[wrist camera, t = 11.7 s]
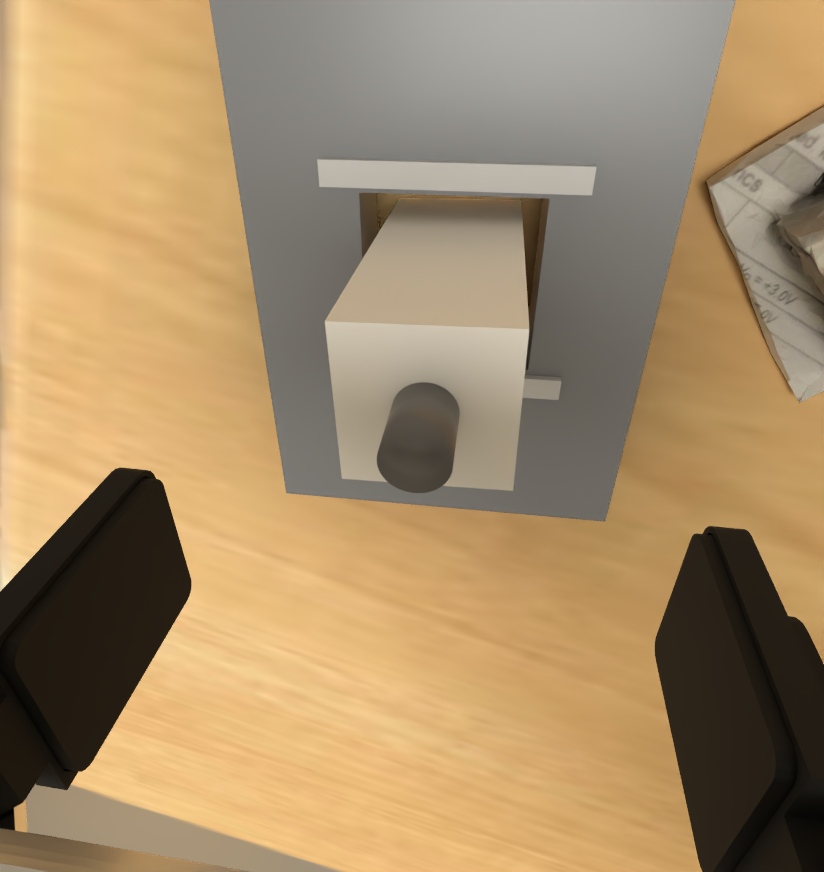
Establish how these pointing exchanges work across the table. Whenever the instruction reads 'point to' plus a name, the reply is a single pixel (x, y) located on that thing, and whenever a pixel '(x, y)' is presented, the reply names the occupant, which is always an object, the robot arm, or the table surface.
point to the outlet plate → (471, 176)
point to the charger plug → (433, 348)
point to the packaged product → (781, 244)
